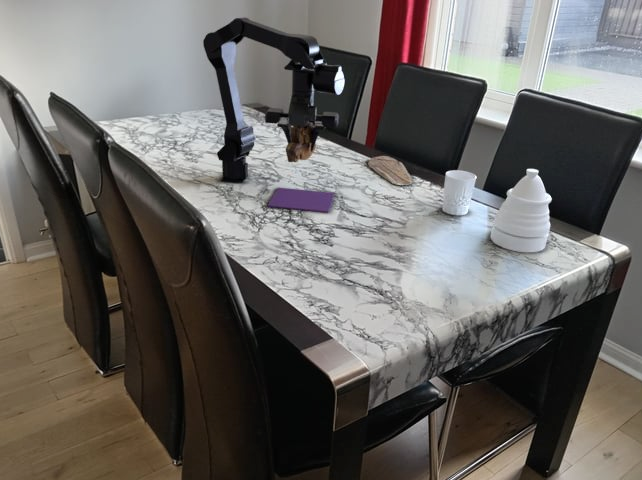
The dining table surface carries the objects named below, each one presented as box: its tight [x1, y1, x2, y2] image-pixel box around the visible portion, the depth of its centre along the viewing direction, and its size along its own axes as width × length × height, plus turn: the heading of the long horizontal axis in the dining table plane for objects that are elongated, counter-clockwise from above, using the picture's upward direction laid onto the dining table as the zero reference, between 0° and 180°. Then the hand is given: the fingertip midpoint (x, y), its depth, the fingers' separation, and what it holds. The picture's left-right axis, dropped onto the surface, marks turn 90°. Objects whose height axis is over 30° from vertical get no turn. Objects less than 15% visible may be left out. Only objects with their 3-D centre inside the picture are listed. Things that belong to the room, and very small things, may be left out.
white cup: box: [441, 169, 477, 216], centre depth 152 cm, size 8×8×10 cm
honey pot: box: [490, 168, 553, 253], centre depth 135 cm, size 13×13×18 cm
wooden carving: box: [285, 122, 319, 163], centre depth 153 cm, size 16×5×10 cm, turn 162°
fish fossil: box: [367, 155, 413, 186], centre depth 181 cm, size 26×10×1 cm, turn 18°
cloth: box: [267, 187, 335, 214], centre depth 156 cm, size 16×14×1 cm
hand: (301, 150), depth 154 cm, fingers closed on wooden carving, 5 cm apart
